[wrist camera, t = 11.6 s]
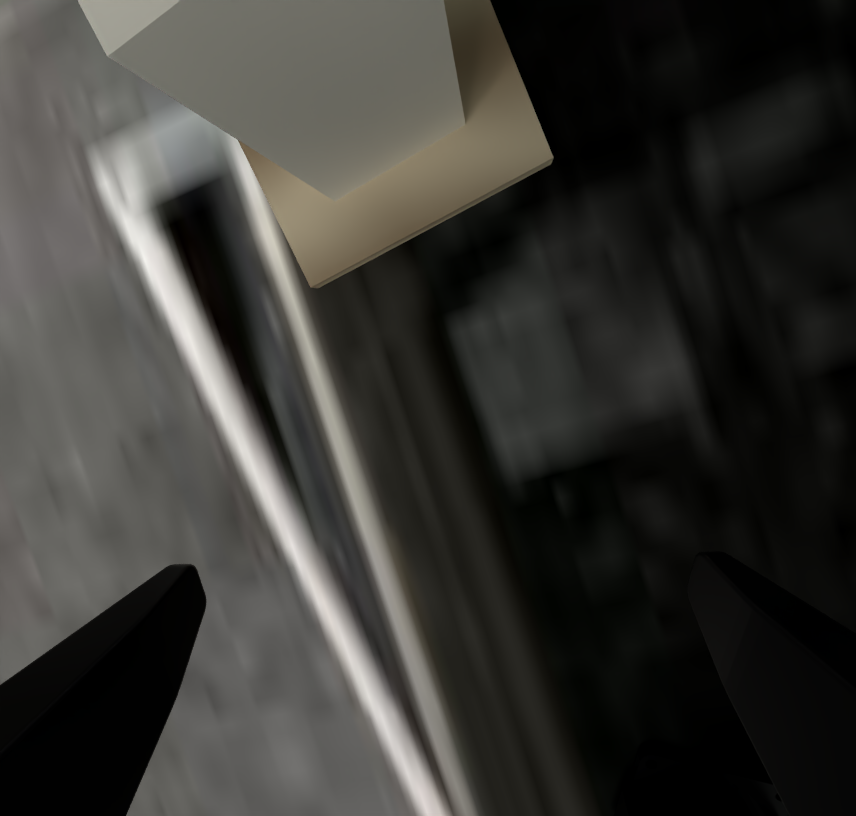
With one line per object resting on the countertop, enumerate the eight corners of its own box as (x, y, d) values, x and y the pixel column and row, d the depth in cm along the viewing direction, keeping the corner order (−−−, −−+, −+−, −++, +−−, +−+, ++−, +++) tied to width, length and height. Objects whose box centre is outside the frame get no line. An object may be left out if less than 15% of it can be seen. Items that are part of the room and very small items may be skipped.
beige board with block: (550, 164, 17) (569, 115, 13) (318, 288, 19) (265, 283, 15) (433, -125, 16) (409, -290, 11) (198, 43, 18) (101, -41, 14)
